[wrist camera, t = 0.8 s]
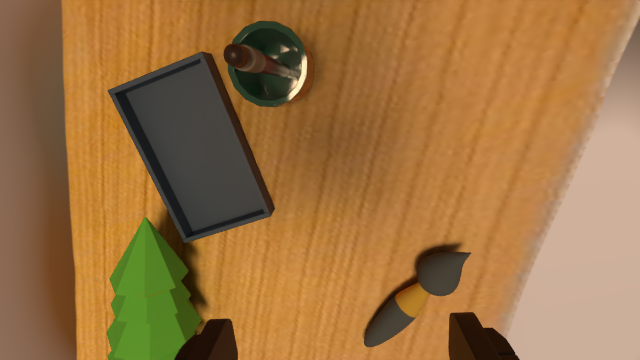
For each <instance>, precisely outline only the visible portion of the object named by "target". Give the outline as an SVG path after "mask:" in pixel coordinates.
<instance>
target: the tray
mask: <svg viewBox="0 0 640 360" xmlns="http://www.w3.org/2000/svg"><path fill="white" fill-rule="evenodd" d="M108 92H109V94H110V95H111V98H112V100H113V102H114V104H115V106H116V108H117V110H118V112H119V114H120V116H121V118H122V120H123V122H124V124H125V126H126V128H127V130H128V132H129V134H130V136H131V138H132V140H133V142H134V144H135V146H136V148H137V150H138V152H139V154H140V156H141V158H142V160H143V162H144V164H145V166H146V168H147V170H148V172H149V174H150V176H151V178H152V180H153V182H154V184H155V186H156V188H157V190H158V192H159V194H160V196H161V198H162V200H163V202H164V204H165V206H166V208H167V210H168V212H169V214H170V216H171V218H172V220H173V222H174V224H175V226H176V228H177V230H178V232H179V234H180V236H181V238H182V239H183V242H184V243H187V242H190V241H193V240H196V239H200V238H203V237H206V236H209V235H212V234H216V233H219V232H222V231H225V230H228V229H232V228H235V227H238V226H241V225H244V224H248V223H251V222H254V221H257V220H260V219H264V218H267V217H270V216H271V215H272V213H273V211H274V209H275V208H274V205H273V203H272V201H271V198H270V196H269V193H268V191H267V188H266V186H265V184H264V181H263V179H262V176H261V174H260V171H259V169H258V167H257V164H256V162H255V159H254V157H253V154H252V152H251V150H250V147H249V145H248V142H247V140H246V137H245V135H244V133H243V130H242V128H241V125H240V123H239V120H238V118H237V116H236V113H235V111H234V108H233V106H232V103H231V101H230V99H229V96H228V94H227V91H226V89H225V86H224V84H223V82H222V79H221V77H220V74H219V72H218V69H217V67H216V65H215V62H214V60H213V57H212V55H211V54H209V53H205V52H200V53H197V54H195V55H193V56H190V57H188V58H185V59H183V60H180V61H178V62H175V63H173V64H171V65H168V66H166V67H163V68H161V69H158V70H156V71H154V72H151V73H149V74H146V75H144V76H141V77H139V78H136V79H134V80H132V81H129V82H127V83H124V84H122V85H119V86H117V87H115V88H112V89H110V90H108Z"/></svg>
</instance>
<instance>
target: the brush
mask: <svg viewBox="0 0 640 360" xmlns="http://www.w3.org/2000/svg"><path fill="white" fill-rule="evenodd" d="M224 59H225V61H226V62H227V63H228V64H229V65H230V66H232V67H236V68H237V69H238V70H240V71H244V72H250V73H263V74H268V75H274V76H279V77H286V76H288V74H289V72H290V69H289V66H288V65H287V64H285V63H283V62H280V61H278V60H276V59H273V58H271V57H269V56H267V55H264V54H263V53H262V52H260V51H259V50H257V49H254V48H252V47H250V46H248V45H239V44H236V43H232V44H229V45H228V46H227V47H226V48H225V50H224Z"/></svg>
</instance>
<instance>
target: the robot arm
mask: <svg viewBox="0 0 640 360" xmlns="http://www.w3.org/2000/svg"><path fill="white" fill-rule="evenodd" d="M449 357H450V360H519V358H518V356H517V355H515V352H514V350H513V349H512V347H511V346H510V344H509V343H508V341H507V339H505V338H504V337H503V336H502V335H501V334H499V333H498V332H497V331H496V330H495V329H493V328H483V327H482V325H481V323H480V322H479V320H478V318H477V317H476V315H475V314H474V313H473V312H464V313H451V314H450V318H449ZM174 360H238V351H237V346H236V341H235V336H234V330H233V325H232V321H231V320H230V319H210V320H209V321H208V322H207V323H206V325H205V327H204V329H203V331H202V332H201V334H200V335H193V336H192V337H191V338H190V339H189V340H188V341H187V342H186V343H185V344H183V345H182V347H181V348H180V350H179V352H178V353H177V355H176V357H175V358H174Z"/></svg>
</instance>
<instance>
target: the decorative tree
mask: <svg viewBox="0 0 640 360" xmlns="http://www.w3.org/2000/svg"><path fill="white" fill-rule="evenodd" d="M188 271H189V270H188V269H187V268H186V266H185V265H184V263H183V262H182V261H181V259H180V258H179V257H178V255H177V254H176V253H175V252H174V250H173V249H172V248H171V247H170V246H169V244H168V243H167V242H166V241H165V239H164V238H163V237H162V236H161V235H160V233H159V232H158V231H157V230H156V229H155V227H154V226H153V225H152V224H151V222H150V221H149V220H148V219H147V218H146V216H145V218H144V220H143V221H142V223H141V225H140V227H139V228H138V230H137V232H136V234H135V235H134V237H133V239H132V240H131V242H130V244H129V246H128V247H127V249H126V251H125V253H124V254H123V256H122V258H121V260H120V261H119V263H118V265H117V267H116V268H115V270H114V272H113V274H112V275H111V277H110V281H111V284H112V286H113V289H114V292H115V295H116V296H115V298H114V299H113V301H112V303H111V306H112V309H113V312H114V315H115V317H116V318H115V319H114V321H113V323H112V324H111V326H110V328H109V329H108V331H107V336H108V339H109V343H110V346H111V349H112V351H111V352H110V354H109V355H108V360H174V358H175V357H176V355H177V353H178V352H179V350H180V348H181V347H182V345H183V344H185V343H186V342H187V341H188V340H189V339H190V338H191V337H192V336H193V335H196V334H195V330H196V328H197V327H198V325H199V323H200V321H201V317H200V316H199V314H198V313H197V311H196V309H195V308H194V306H193V305H192V303H191V301H190V300H189V297H190V296H191V294H190V293H189V291H188V290H187V289H186V287H185V286H184V284H183V283H182V282H181V280H182V279H183V278H184V276H185V275H186V274H187V272H188Z"/></svg>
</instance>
